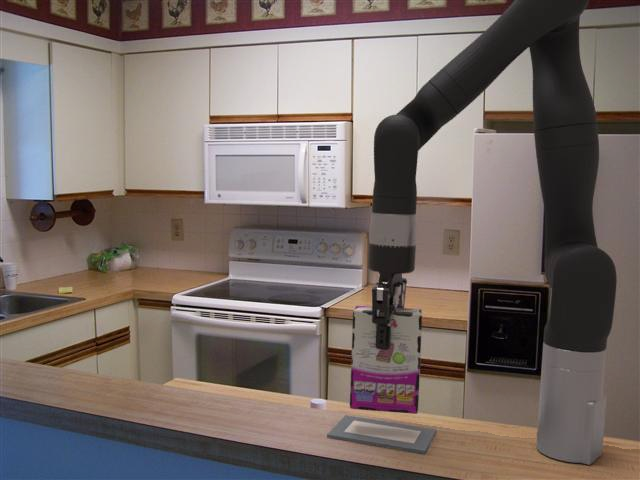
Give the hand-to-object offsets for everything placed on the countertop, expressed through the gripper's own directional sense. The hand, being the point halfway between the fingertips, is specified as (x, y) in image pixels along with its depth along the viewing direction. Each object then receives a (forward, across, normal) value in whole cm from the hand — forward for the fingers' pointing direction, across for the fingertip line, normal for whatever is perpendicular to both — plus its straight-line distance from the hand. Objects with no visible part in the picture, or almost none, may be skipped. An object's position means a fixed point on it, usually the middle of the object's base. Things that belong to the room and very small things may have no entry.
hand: (387, 344), depth 111 cm
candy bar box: (+11, 0, 0) cm, 11 cm away
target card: (+15, 0, 0) cm, 15 cm away
